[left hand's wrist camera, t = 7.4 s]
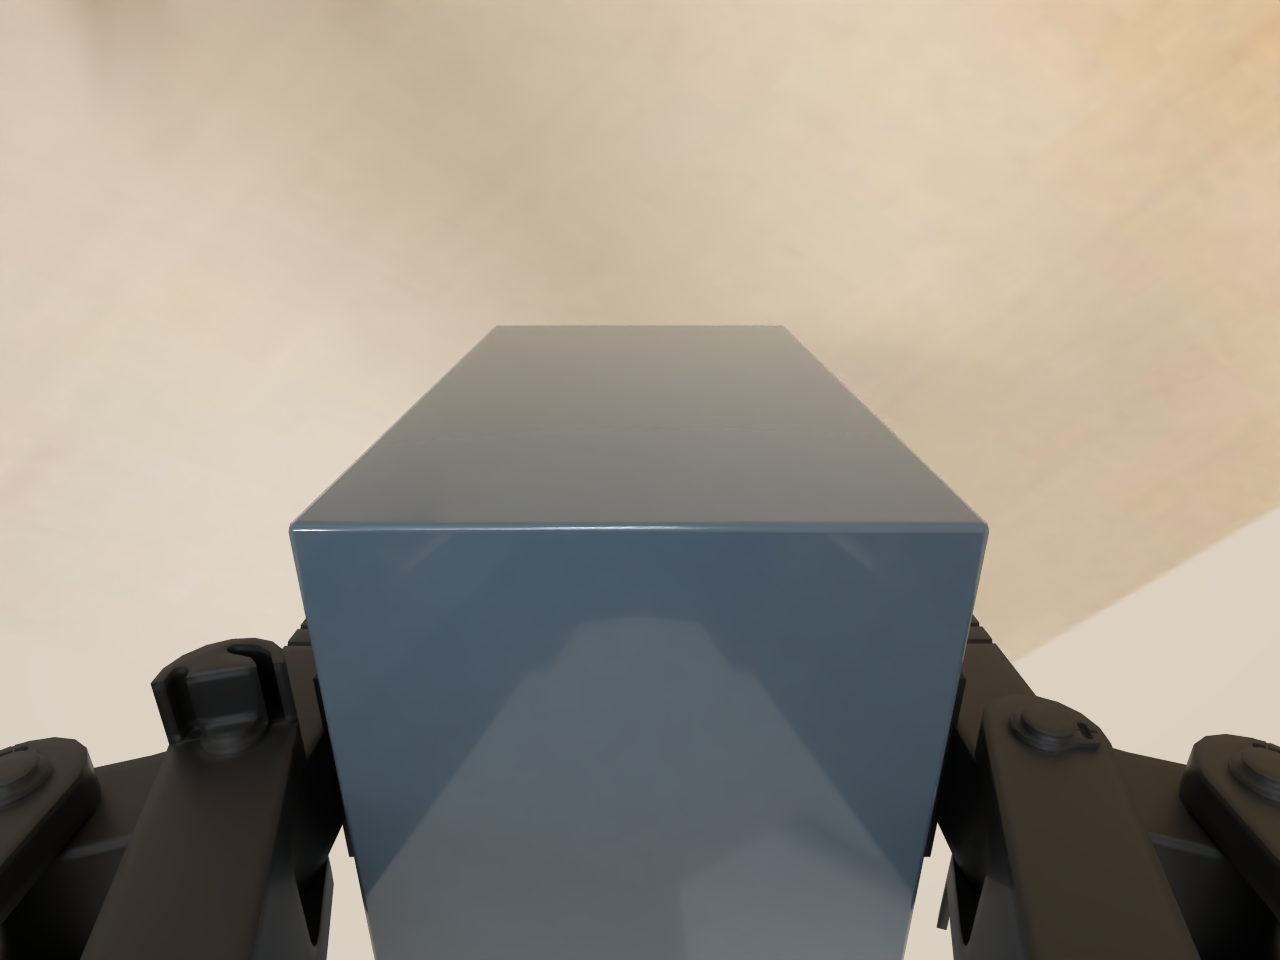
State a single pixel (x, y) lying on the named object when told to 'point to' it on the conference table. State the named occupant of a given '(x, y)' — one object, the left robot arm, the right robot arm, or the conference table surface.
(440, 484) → the brick
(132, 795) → the left robot arm
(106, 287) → the conference table surface
